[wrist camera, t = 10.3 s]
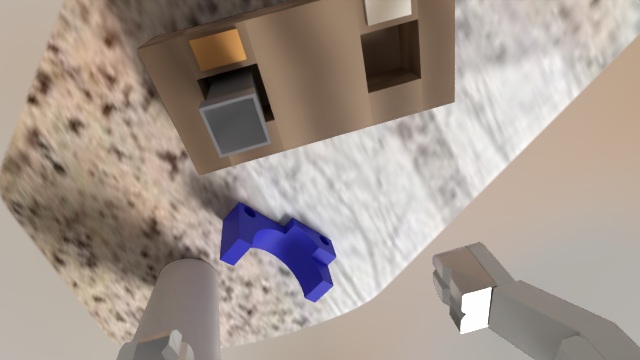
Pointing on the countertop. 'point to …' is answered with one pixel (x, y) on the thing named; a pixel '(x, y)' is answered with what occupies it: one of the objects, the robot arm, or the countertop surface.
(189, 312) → the coffee cup
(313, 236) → the cable clip
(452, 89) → the socket block
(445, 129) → the countertop surface
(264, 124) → the plug
